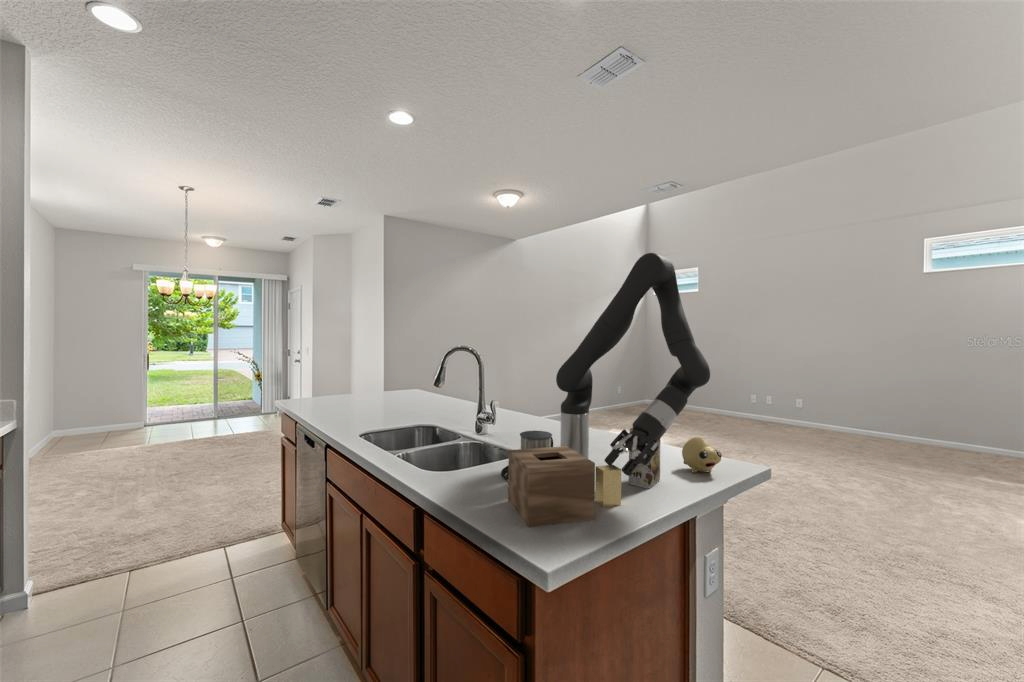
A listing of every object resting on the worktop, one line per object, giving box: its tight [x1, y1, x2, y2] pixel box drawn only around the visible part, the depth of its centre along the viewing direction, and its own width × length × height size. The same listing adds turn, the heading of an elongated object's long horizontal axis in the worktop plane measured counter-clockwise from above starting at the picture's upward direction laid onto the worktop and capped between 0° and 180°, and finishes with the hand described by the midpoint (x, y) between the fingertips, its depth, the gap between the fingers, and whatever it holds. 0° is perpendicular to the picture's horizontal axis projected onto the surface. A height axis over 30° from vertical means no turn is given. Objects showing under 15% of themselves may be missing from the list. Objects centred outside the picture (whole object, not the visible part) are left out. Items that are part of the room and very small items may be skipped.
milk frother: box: [500, 430, 554, 481], centre depth 125 cm, size 14×16×15 cm
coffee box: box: [628, 427, 661, 489], centre depth 126 cm, size 9×6×16 cm
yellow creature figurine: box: [681, 436, 723, 473], centre depth 136 cm, size 10×12×11 cm
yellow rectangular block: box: [595, 464, 622, 508], centre depth 110 cm, size 4×5×9 cm
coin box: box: [507, 446, 596, 528], centre depth 105 cm, size 16×16×13 cm
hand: (615, 468), depth 110 cm, fingers open, 8 cm apart
